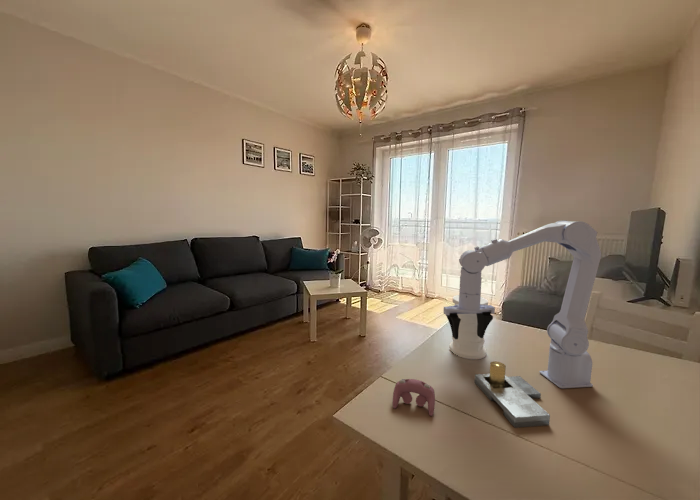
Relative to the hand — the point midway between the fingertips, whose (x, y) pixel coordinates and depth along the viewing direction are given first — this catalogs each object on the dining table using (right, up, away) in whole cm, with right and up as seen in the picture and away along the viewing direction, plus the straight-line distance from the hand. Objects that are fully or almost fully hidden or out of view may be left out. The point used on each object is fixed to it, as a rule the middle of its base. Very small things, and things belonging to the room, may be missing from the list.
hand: (467, 337), depth 86 cm
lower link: (+6, -11, -9) cm, 16 cm away
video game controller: (-19, -12, -15) cm, 27 cm away
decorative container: (+5, -9, +13) cm, 16 cm away
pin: (+4, -11, -9) cm, 15 cm away
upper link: (+4, -12, -14) cm, 19 cm away
